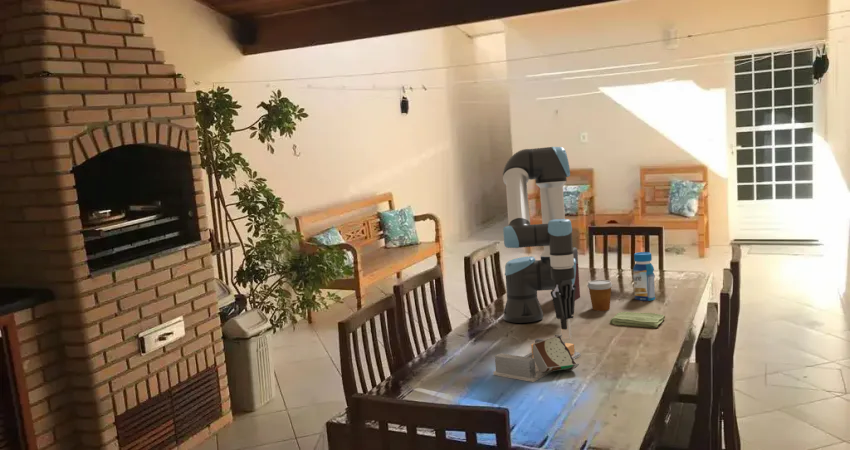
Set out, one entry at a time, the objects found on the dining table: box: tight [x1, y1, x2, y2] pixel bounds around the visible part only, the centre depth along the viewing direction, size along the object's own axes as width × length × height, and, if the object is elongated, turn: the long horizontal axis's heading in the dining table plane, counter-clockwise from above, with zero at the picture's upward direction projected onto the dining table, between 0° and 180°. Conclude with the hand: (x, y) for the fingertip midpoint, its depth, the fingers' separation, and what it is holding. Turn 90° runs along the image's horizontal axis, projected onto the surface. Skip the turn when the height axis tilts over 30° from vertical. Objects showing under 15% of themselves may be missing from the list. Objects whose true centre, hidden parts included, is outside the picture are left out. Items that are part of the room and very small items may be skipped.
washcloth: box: [609, 311, 666, 329], centre depth 254 cm, size 13×18×3 cm
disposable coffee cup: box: [587, 279, 613, 312], centre depth 273 cm, size 10×10×12 cm
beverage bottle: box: [632, 251, 656, 302], centre depth 285 cm, size 8×8×20 cm
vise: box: [492, 351, 582, 383], centre depth 214 cm, size 14×28×6 cm, turn 139°
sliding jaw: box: [530, 338, 576, 355], centre depth 221 cm, size 12×6×5 cm, turn 49°
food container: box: [532, 334, 580, 372], centre depth 208 cm, size 12×6×10 cm
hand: (566, 338), depth 227 cm, fingers closed
